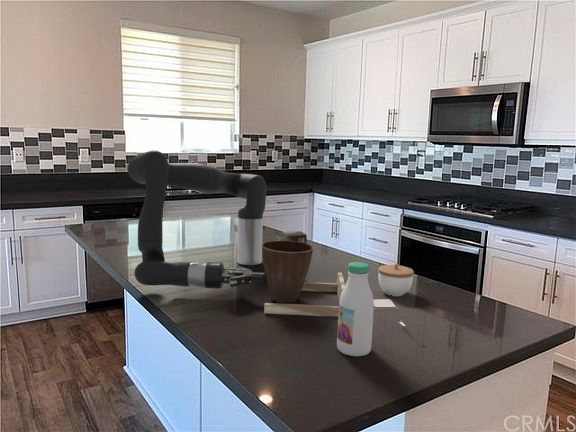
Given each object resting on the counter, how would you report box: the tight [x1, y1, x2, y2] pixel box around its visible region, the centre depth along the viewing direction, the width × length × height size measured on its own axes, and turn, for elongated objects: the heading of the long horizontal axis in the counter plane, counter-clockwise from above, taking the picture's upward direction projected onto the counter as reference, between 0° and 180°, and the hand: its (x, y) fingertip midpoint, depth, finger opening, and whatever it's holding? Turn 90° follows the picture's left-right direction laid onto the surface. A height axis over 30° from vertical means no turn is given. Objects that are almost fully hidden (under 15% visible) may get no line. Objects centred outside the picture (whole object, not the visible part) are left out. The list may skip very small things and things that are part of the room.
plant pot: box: [262, 240, 314, 304], centre depth 134 cm, size 15×15×16 cm
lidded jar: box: [377, 263, 415, 297], centre depth 143 cm, size 11×11×9 cm
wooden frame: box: [263, 272, 346, 317], centre depth 134 cm, size 21×22×6 cm
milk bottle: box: [336, 261, 375, 357], centre depth 103 cm, size 8×8×20 cm
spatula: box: [373, 298, 423, 344], centre depth 121 cm, size 6×29×2 cm, turn 9°
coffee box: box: [275, 231, 308, 282], centre depth 153 cm, size 9×6×16 cm
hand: (265, 277), depth 133 cm, fingers closed
